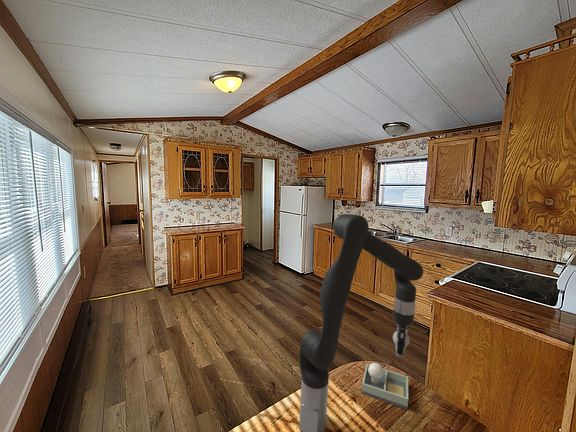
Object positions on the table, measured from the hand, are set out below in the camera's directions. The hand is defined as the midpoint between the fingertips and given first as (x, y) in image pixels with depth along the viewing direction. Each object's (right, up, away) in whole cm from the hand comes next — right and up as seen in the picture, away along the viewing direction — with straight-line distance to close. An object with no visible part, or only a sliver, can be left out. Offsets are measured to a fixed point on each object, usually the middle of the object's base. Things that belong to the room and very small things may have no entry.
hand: (400, 349), depth 103 cm
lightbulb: (0, -4, +1) cm, 4 cm away
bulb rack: (-5, -19, +4) cm, 20 cm away
